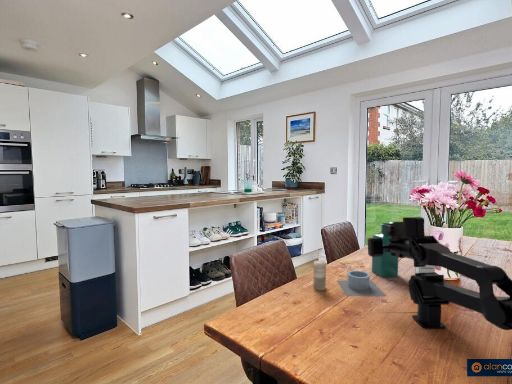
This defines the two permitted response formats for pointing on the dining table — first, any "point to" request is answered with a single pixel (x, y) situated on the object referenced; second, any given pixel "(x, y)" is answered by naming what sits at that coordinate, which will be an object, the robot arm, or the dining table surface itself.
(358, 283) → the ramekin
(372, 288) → the mat
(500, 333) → the dining table surface
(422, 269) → the syrup box
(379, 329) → the dining table surface
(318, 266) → the stopper
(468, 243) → the dining table surface
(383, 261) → the green bottle
